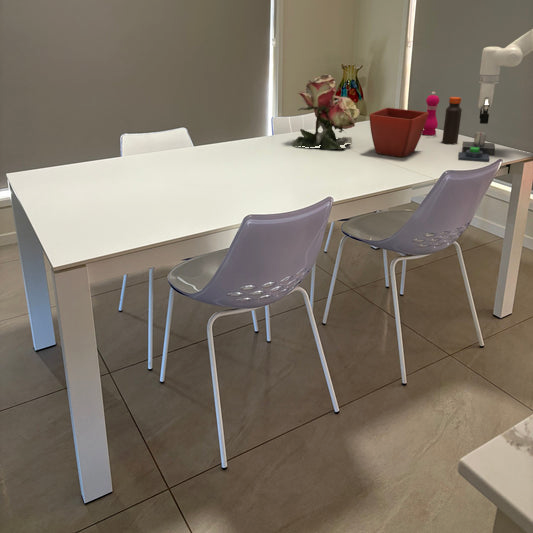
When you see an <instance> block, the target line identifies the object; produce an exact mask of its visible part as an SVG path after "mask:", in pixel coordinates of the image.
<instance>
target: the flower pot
mask: <svg viewBox="0 0 533 533" xmlns="http://www.w3.org/2000/svg"><path fill="white" fill-rule="evenodd" d="M427 116H428V112H427V111H420V110H412V109H405V108H404V109H403V108H394V107H385V108H382V109H379V110H377V111H373V112H372V113H369V125H370V126H369V127H370V134H371V138H372V143H373V146H374V152H375V153H376V154H380V155H386V156H390V157H391V156H392V157H398V158H405V157H407V156H408V155H410V154H412V153H414V152H415V150H416V148H417V147H418V145H419V142H420V140H421V137H422V135H423V134H422V132H423V130H424V126H425V123H426V120H427Z"/></svg>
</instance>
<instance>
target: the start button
mask: <svg viewBox="0 0 533 533" xmlns="http://www.w3.org/2000/svg"><path fill="white" fill-rule="evenodd" d="M470 152H473V153H479V148H478V147H471V148H470Z"/></svg>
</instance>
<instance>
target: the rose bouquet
mask: <svg viewBox="0 0 533 533" xmlns="http://www.w3.org/2000/svg"><path fill="white" fill-rule="evenodd" d="M335 80H336V78H334V77H332V75H331V74H324V73H323V74H322V75H320V76H318V77H316V78H314V80H311V79H309V80H308V83H307V84H306V85H305V86H306V88H305V91H300V92H297V94H298V95H300V96H301V98H302V101H303V103H304V104H306V106H307V107H300V108H298V109H297V111H311V110H313V112H314V117H316V120H315V132H314V133H313V132H311V131H308V130H305V129H302V128H300V130H299V132H300V133H301V136H300V135H299V136H297V138H296V139H294V140H293V141H292V147H293V146H301V148H300V149H306V148H305V147H309V148H310V147H315V146H319V145H321V146H320V148H321V149H320V150H322V149H324V150H329V149H338V150H342V149H344V150H343V151H346V150H347V148H341V147H340V145H344V144H345V143H351V144H352V143H353V138H352V137H351V136H349V137H347V136H342V137H337V136H336V133H335V131H334V130H338V133H343V132H344V133H345V134H347V132H346V131H345V130H348V129H352V128H354V127H355V124H356V123H357V120H358V118H359V116H360V111H361V110H360V109H359V108H357V105H355V101H353V100H352V99H351V97H346V96H339V95H335V94H336V91H337V89H336V81H335ZM320 127H321V129H322V131H321V132H320V131H319V128H320ZM333 128H334V130H333ZM336 138H338V139H336ZM302 146H305V147H302ZM295 148H297V147H295Z"/></svg>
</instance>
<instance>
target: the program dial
mask: <svg viewBox="0 0 533 533" xmlns="http://www.w3.org/2000/svg"><path fill="white" fill-rule="evenodd" d="M486 137H487V133H486V132H484V131H483V132H482V131H476V132H474V139H473V142H474V145H476V146H484V144H485V143H486Z"/></svg>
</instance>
